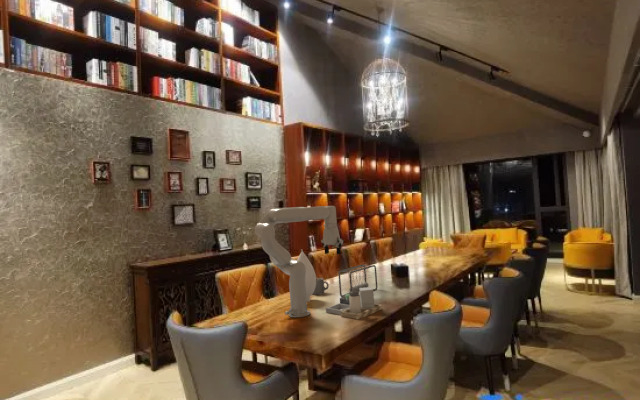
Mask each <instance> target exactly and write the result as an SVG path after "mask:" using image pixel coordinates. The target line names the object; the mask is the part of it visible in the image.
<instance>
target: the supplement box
mask: <svg viewBox="0 0 640 400" xmlns="http://www.w3.org/2000/svg"><path fill="white" fill-rule="evenodd" d="M373 289H374V288H373V287H371V286H368V287H367V288H359V294H360V305H361V308H365V309H371V308H374V307H375V306H374V304H375V295H374V294H375V293H374V291H373Z"/></svg>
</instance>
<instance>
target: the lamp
mask: <svg viewBox="0 0 640 400" xmlns="http://www.w3.org/2000/svg"><path fill="white" fill-rule="evenodd" d="M296 260H298V261H301V262H302V263H303V264H304V265H305V268H306V275H305V285H306V299H307V302H310V301H311V300H312V299H311V296H312V293H313V292H314V290H315V287H316V278H317V275H316V272H315V269H314V266H313V265H312V263H311V261H310V260H309V258H308V256H307V255H306V254H305V252H304V251H303V250H301V252H300V254H299V256H298V257H297V259H296Z"/></svg>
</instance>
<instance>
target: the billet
mask: <svg viewBox="0 0 640 400" xmlns="http://www.w3.org/2000/svg"><path fill="white" fill-rule="evenodd" d="M349 293H350V295H349V302H350V313H354V314H359V313H361V305H360V295H359V294H360V293H359V291H350V290H349Z"/></svg>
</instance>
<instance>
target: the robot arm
mask: <svg viewBox="0 0 640 400" xmlns="http://www.w3.org/2000/svg"><path fill="white" fill-rule="evenodd" d="M336 209H337V208H336V206H335V205H326V206H325V205H324V206H322V205H321V206H320V205H318V206H310V207H309V206H308V207H307V206H305V207H304V206H295V207H293V206H292V207H282V208H271V209H270V210H269V211H267V212H266V213H265V215H264V216H263V217H262V218H261V219H260V221H259V222H258V223H256V225H255V227H254V234H255V236H256V237H258V238H260V245H261V247H262V250H263V251H264V252H265V253H266V254H267V255H268V256H269V260H270V262H271V264H273V265H274V266H275V267H277V269H279V270H281V272H283V273H284V274H285V275H287V276H289V279H288V288H289V300H290V307H289V309H288V310H287V311H285V312H284V315H286V316H287V315H288V316H289V317H290V318H304V317H308V316H310V314H311V311H310V310H308V303H307V299H306V285H305V275H306V268H305V265H304V264H303V263H302V262H301V261H298V260H297V259H294V258H292V255H291V253H290V252H289V251H288V249H286V248H284V247H283V245H282V244H280V243H279V242H278V241H277V240H276V238H275V237H276V236H275V234H276V231H275V230H276V229H275V227H274V226H275V225H277V224H283V223H284V224H285V223H296V222H298V223H299V222H305V221H313V220H315V221H317V220H323V222H324V224H323V227H324V229H323V235H322V237H323V238H322V239H321V240H320V242H321V245H322V246H323V248H324V254H325V255H327V254H330V250H329V249H330V248H329V246H335V247H336V249H335V250H336V255H341V254H342V252H341V251H342V249H341V248H342V246H343V243H344V240H343V239H342V238H340V232H339V228H338V223H337V222H338V221H337V220H338V219H337V210H336Z"/></svg>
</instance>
